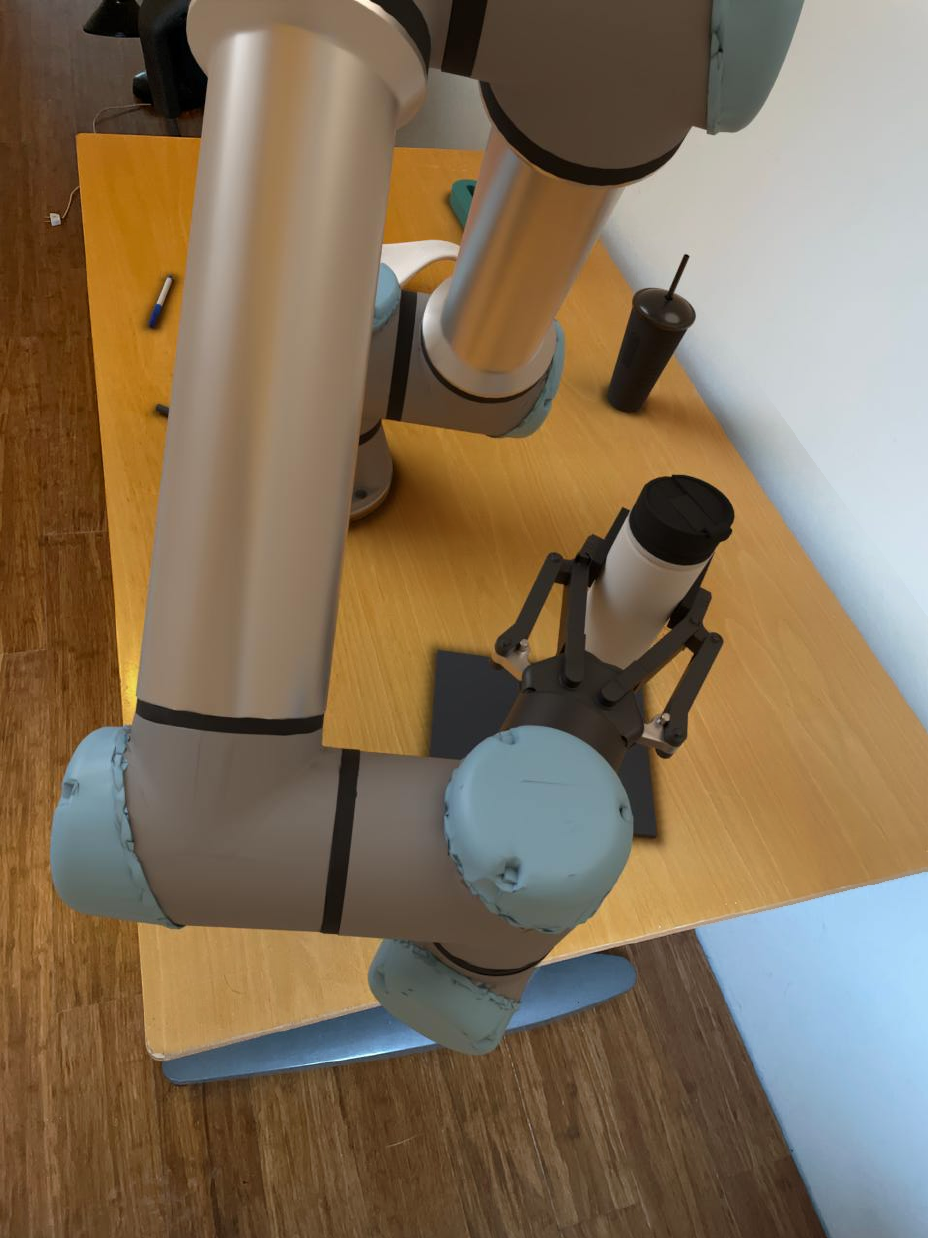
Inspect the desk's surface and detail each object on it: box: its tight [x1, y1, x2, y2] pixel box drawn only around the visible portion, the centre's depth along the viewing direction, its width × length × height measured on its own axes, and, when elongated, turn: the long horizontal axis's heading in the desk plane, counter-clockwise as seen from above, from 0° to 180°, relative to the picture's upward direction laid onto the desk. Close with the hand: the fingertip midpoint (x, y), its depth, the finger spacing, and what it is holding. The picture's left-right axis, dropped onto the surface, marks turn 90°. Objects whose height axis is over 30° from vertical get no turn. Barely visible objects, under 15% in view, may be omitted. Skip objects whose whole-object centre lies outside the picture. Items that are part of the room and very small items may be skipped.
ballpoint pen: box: [148, 274, 173, 328], centre depth 99 cm, size 10×1×1 cm, turn 1°
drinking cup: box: [606, 253, 697, 413], centre depth 97 cm, size 8×8×20 cm
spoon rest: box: [380, 239, 460, 290], centre depth 106 cm, size 24×12×7 cm, turn 110°
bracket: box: [449, 178, 477, 229], centre depth 121 cm, size 18×7×8 cm, turn 19°
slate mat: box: [428, 649, 658, 839], centre depth 73 cm, size 20×16×1 cm
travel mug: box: [584, 474, 736, 670], centre depth 60 cm, size 6×7×20 cm
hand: (661, 541), depth 63 cm, fingers closed on travel mug, 6 cm apart
